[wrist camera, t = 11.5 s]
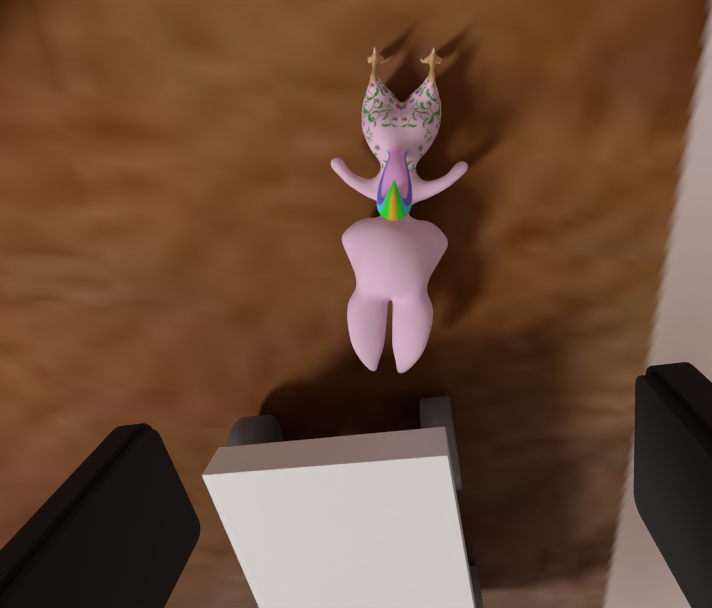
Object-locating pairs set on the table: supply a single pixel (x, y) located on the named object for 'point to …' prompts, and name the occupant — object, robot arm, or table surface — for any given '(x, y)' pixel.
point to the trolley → (347, 515)
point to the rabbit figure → (395, 222)
